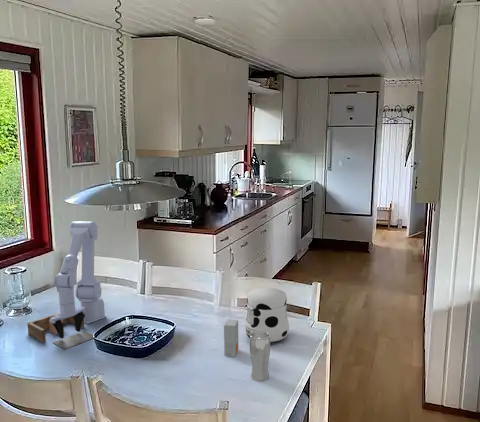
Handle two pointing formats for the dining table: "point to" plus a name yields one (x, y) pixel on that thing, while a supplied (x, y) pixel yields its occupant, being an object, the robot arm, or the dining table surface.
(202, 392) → the dining table surface
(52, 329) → the terracotta block
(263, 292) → the milk container
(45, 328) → the open box
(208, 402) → the dining table surface
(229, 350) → the skincare box
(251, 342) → the beer glass
